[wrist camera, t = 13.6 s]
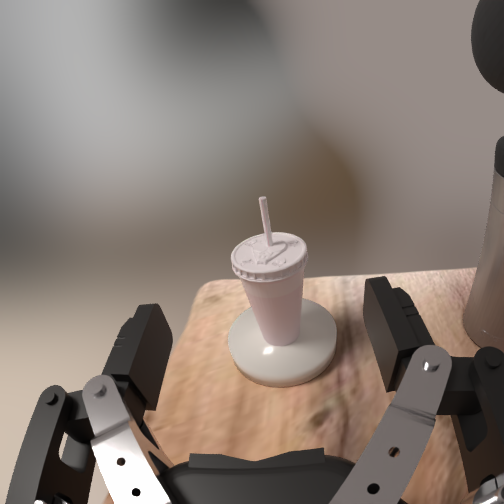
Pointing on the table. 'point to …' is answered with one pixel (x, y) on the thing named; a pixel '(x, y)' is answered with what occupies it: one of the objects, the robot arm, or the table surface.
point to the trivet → (284, 348)
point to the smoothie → (273, 280)
